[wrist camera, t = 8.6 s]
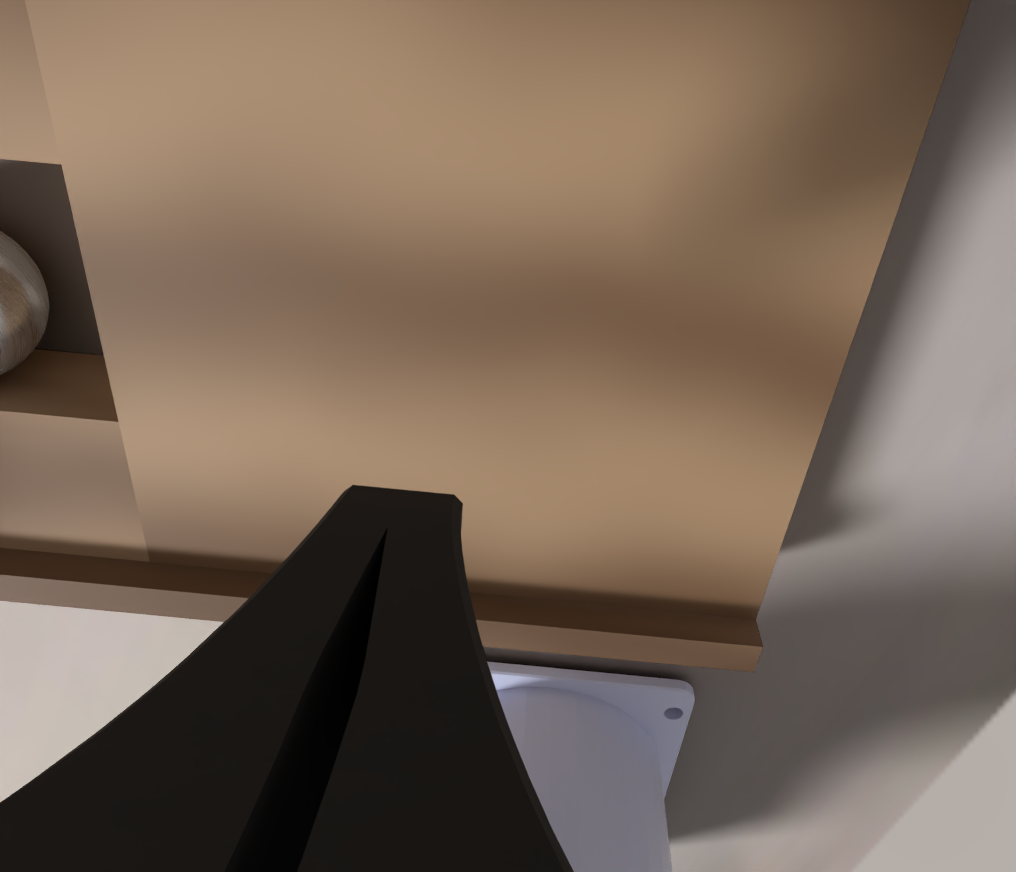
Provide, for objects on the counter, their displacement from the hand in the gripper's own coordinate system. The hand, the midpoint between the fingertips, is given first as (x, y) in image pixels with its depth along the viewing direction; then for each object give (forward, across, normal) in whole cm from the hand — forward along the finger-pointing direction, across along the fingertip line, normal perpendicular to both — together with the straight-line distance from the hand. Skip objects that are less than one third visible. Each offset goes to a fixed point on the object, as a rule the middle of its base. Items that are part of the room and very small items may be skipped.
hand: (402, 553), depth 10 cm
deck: (+8, +4, 0) cm, 9 cm away
